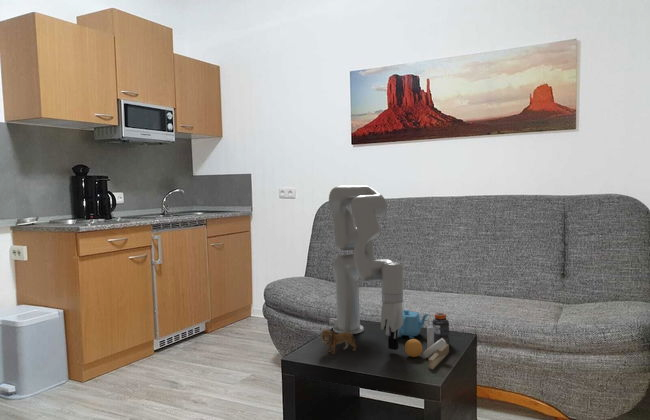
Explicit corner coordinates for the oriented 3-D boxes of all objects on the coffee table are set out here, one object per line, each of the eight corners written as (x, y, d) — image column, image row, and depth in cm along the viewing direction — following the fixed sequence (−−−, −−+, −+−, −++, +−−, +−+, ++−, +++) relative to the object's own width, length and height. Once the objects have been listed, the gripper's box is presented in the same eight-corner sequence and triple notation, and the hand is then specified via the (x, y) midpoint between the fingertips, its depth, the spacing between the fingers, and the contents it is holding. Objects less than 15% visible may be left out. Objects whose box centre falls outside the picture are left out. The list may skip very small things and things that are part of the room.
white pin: (421, 352, 162) (440, 338, 159) (424, 351, 164) (442, 337, 161) (426, 358, 161) (445, 344, 158) (428, 357, 163) (447, 343, 160)
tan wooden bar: (428, 368, 152) (428, 359, 152) (444, 351, 168) (444, 343, 168) (433, 369, 152) (432, 360, 152) (449, 352, 167) (448, 344, 167)
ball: (418, 344, 159) (418, 361, 160) (425, 338, 164) (424, 355, 165) (402, 340, 163) (401, 357, 163) (409, 335, 168) (408, 351, 168)
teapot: (380, 337, 186) (380, 312, 185) (390, 328, 199) (389, 304, 198) (427, 342, 179) (426, 316, 178) (433, 332, 192) (433, 307, 191)
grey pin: (426, 351, 169) (426, 327, 169) (428, 349, 171) (428, 325, 171) (433, 352, 168) (432, 328, 168) (435, 350, 170) (434, 326, 170)
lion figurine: (325, 357, 165) (324, 332, 165) (318, 353, 170) (317, 328, 170) (360, 350, 172) (360, 325, 172) (353, 346, 177) (352, 322, 176)
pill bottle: (448, 341, 179) (447, 311, 179) (450, 346, 173) (450, 315, 173) (431, 341, 180) (431, 311, 180) (433, 346, 174) (433, 315, 174)
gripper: (390, 292, 176) (391, 341, 176) (373, 300, 163) (375, 353, 164) (410, 294, 172) (410, 344, 173) (394, 303, 159) (395, 357, 160)
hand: (393, 348), depth 168 cm, fingers closed
